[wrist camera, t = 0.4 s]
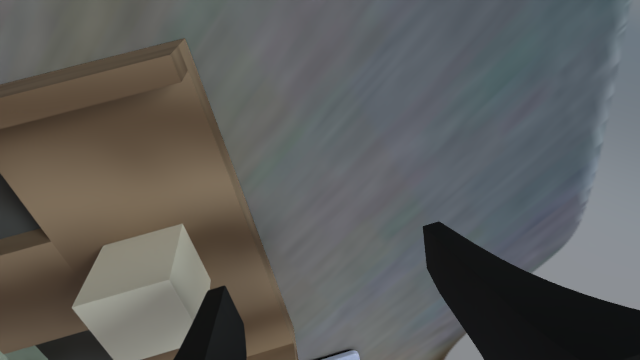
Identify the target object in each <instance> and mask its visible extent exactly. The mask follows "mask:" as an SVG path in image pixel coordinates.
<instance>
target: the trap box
mask: <svg viewBox="0 0 640 360" xmlns="http://www.w3.org/2000/svg"><path fill="white" fill-rule="evenodd" d="M179 224H183V225H184V227H185V229H186V231H187V233H188V235H189V237H190V239H191V241H192V243H193V245H194V247H195V249H196V251H197V253H198V255H199V257H200V259H201V261H202V263H203V265H204V267H205V269H206V271H207V273H208V276H209V278H210V280H211V282H210V290H211V289H214V288H218V287H221V286H224V285H225V286H226V288H227V290H228V292H229V294H230V296H231V298H232V300H233V302H234V304H235V306H236V309H237V311H238V313H239V315H240V317H241V319H242V321H243V323H244V329H245V339H246V351H247V360H298V355H297V348H296V341H295V334H294V328H293V325H292V322H291V320H290V317H289V314H288V312H287V309H286V306H285V304H284V301H283V298H282V296H281V293H280V290H279V288H278V285H277V282H276V280H275V277H274V274H273V272H272V269H271V266H270V264H269V261H268V258H267V256H266V253H265V250H264V248H263V245H262V242H261V240H260V237H259V234H258V232H257V229H256V226H255V224H254V221H253V218H252V216H251V213H250V210H249V208H248V205H247V202H246V200H245V197H244V194H243V192H242V189H241V186H240V184H239V181H238V178H237V176H236V173H235V170H234V168H233V165H232V162H231V160H230V157H229V154H228V152H227V149H226V146H225V144H224V141H223V138H222V136H221V133H220V130H219V128H218V125H217V122H216V120H215V117H214V114H213V112H212V109H211V106H210V104H209V101H208V98H207V96H206V93H205V90H204V88H203V85H202V82H201V80H200V77H199V74H198V72H197V69H196V66H195V64H194V61H193V58H192V56H191V53H190V50H189V48H188V45H187V42H186V40H185V38H184V39H180V40H176V41H172V42H168V43H164V44H160V45H156V46H152V47H148V48H144V49H140V50H136V51H132V52H128V53H124V54H120V55H116V56H112V57H108V58H104V59H100V60H96V61H92V62H88V63H84V64H80V65H77V66H73V67H69V68H65V69H61V70H57V71H53V72H49V73H45V74H41V75H37V76H33V77H29V78H25V79H21V80H17V81H13V82H9V83H5V84H1V85H0V360H113V359H112V357H111V356H110V355H109V354H108V352H107V351H106V350H105V349H104V347H103V346H102V345H101V344H100V342H99V341H98V340H97V339H96V337H95V336H94V335H93V334H92V332H91V331H90V330H89V329H88V327H87V326H86V325H85V324H84V323H83V321H82V320H81V319H80V318H79V316H78V315H77V314H76V313H75V311H74V310H73V309H72V306H73V304H74V302H75V300H76V298H77V296H78V294H79V292H80V290H81V288H82V286H83V284H84V282H85V280H86V278H87V276H88V274H89V272H90V270H91V269H92V267H93V265H94V263H95V261H96V259H97V257H98V255H99V253H100V251H101V249H102V247H103V246H104V245H107V244H111V243H115V242H118V241H122V240H125V239H129V238H133V237H136V236H140V235H143V234H147V233H150V232H154V231H158V230H161V229H165V228H168V227H172V226H176V225H179ZM178 350H179V349H175V350H172V351H168V352H165V353H162V354H158V355H155V356H152V357H148V358H145V359H142V360H173V359H174V358H175V356H176V354H177V352H178Z"/></svg>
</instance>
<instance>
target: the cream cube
mask: <svg viewBox="0 0 640 360" xmlns="http://www.w3.org/2000/svg"><path fill="white" fill-rule="evenodd" d="M210 282H211V280H210V278H209V276H208V273H207V271H206V269H205V267H204V265H203V263H202V261H201V259H200V257H199V255H198V253H197V251H196V249H195V247H194V245H193V243H192V241H191V239H190V237H189V235H188V233H187V231H186V229H185V227H184V225H183V224H179V225H176V226H172V227H168V228H165V229H161V230H158V231H154V232H150V233H147V234H143V235H140V236H136V237H133V238H129V239H125V240H122V241H118V242H115V243H111V244H107V245H104V246H103V247H102V249H101V251H100V253H99V255H98V257H97V259H96V261H95V263H94V265H93V267H92V269H91V270H90V272H89V274H88V276H87V278H86V280H85V282H84V284H83V286H82V288H81V290H80V292H79V294H78V296H77V298H76V300H75V302H74V304H73V306H72V309H73V310H74V311H75V313H76V314H77V315H78V316H79V318H80V319H81V320H82V321H83V323H84V324H85V325H86V326H87V327H88V329H89V330H90V331H91V332H92V334H93V335H94V336H95V337H96V339H97V340H98V341H99V342H100V344H101V345H102V346H103V347H104V349H105V350H106V351H107V352H108V354H109V355H110V356H111V357H112V359H113V360H142V359H145V358H148V357H152V356H155V355H158V354H162V353H165V352H168V351H172V350H175V349H179V348H180V347H181V345H182V343H183V341H184V339H185V337H186V335H187V333H188V331H189V329H190V327H191V325H192V323H193V321H194V318H195V316H196V314H197V312H198V310H199V308H200V306H201V303H202V301H203V299H204V297H205V295H206V293H207V291H208V290H210Z"/></svg>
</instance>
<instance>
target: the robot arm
mask: <svg viewBox="0 0 640 360" xmlns="http://www.w3.org/2000/svg"><path fill="white" fill-rule="evenodd" d="M423 234H424V244H425V253H426V263H427V269H428V271H429V273H430V275H431V277H432V279H433V281H434V283H435V285H436V287H437V289H438V291H439V293H440V294H441V296H442V297H443V299H444V300H445V302H446V303H447V305H448V306H449V308H450V309H451V311H452V312H453V313H454V315H455V316H456V318H457V319H458V321H459V322H460V324H461V325H462V327H463V328H464V330H465V331H466V332H467V334H468V335H469V337H470V338H471V340H472V341H473V343H474V344H475V345H476V347H477V349H478V350H479V352H480V353H481V355H482V357H483V358H484V360H640V310H636V309H632V308H628V307H625V306H621V305H618V304H614V303H610V302H607V301H604V300H601V299H597V298H594V297H591V296H588V295H585V294H582V293H579V292H576V291H574V290H571V289H568V288H565V287H562V286H560V285H557V284H555V283H552V282H549V281H547V280H545V279H543V278H540V277H538V276H536V275H533V274H531V273H529V272H526V271H524V270H522V269H520V268H518V267H516V266H514V265H512V264H510V263H508V262H506V261H504V260H502V259H500V258H499V257H497V256H495V255H493V254H491V253H490V252H488V251H486V250H485V249H483V248H481V247H479V246H478V245H476V244H474V243H473V242H471V241H469V240H468V239H466V238H465V237H463V236H461V235H460V234H458V233H457V232H455V231H453V230H452V229H450V228H449V227H447V226H446V225H444V224H442V223H441V222H436V223H432V224H429V225H426V226H423ZM173 360H247V351H246V339H245V329H244V323H243V321H242V319H241V317H240V315H239V313H238V311H237V309H236V306H235V304H234V302H233V300H232V298H231V296H230V294H229V292H228V290H227V288H226V286H225V285H224V286H221V287H218V288H214V289H211V290H208V291H207V293H206V295H205V297H204V299H203V301H202V303H201V306H200V308H199V310H198V312H197V314H196V316H195V318H194V321H193V323H192V325H191V327H190V329H189V331H188V333H187V335H186V337H185V339H184V341H183V343H182V345H181V347H180V348H179V350H178V352H177V354H176V356H175V358H174V359H173ZM322 360H360V358H359V354H358V352H357V351H355V350H352V351H348V352H345V353H341V354H338V355H335V356H332V357H328V358H325V359H322Z"/></svg>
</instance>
